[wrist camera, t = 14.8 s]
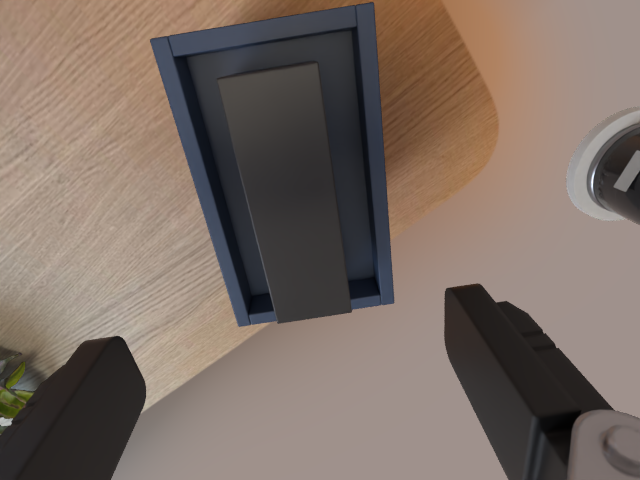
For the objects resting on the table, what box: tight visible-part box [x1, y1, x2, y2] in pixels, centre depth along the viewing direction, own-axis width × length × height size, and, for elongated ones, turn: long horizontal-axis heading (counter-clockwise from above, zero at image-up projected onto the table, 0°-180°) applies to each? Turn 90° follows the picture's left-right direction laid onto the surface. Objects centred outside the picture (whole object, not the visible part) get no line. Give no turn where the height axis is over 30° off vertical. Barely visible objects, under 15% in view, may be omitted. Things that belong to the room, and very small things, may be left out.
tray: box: [150, 2, 394, 327], centre depth 20 cm, size 10×16×2 cm, turn 8°
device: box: [216, 61, 352, 324], centre depth 19 cm, size 12×4×4 cm, turn 8°
